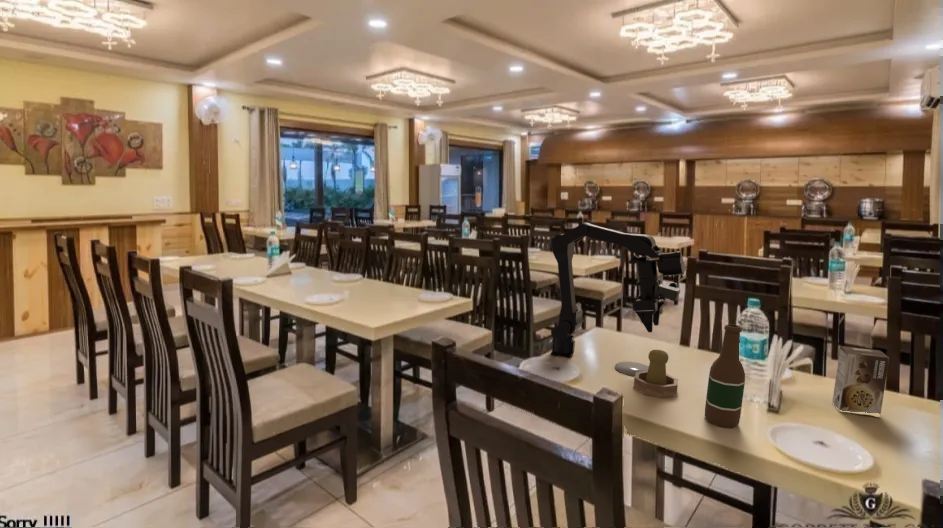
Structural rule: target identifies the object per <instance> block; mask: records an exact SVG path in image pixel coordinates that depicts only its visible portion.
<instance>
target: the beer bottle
mask: <svg viewBox="0 0 943 528" xmlns="http://www.w3.org/2000/svg"><path fill="white" fill-rule="evenodd" d="M723 329H724V334H723V340H722V345H721V350H720V353H719V356H718V357H717V358H716V359H715V360H714V361H713V362H712V364H711V365H710V369H709V372H708V373H709V374H708V380H707V387H706V388H707V389H706V397H705V405H704V406H705V407H704V418H705V419H706V420H707V422H708V423H709V424H711V423H712V425H715V426H716V427H718V426H719V428H727V429H734V428H735V427H737V426H739V424H740V420H741V413H742V407H743V400H744V391H745V390H744V389H745V386H746V385H745V383H746V373H745V369H744V366H742V364H741V360H740V361H739V343H740V340H741V339H740V338H741V333H742V327H741V326H739V325H738V324H731V323H730V324H729V323H728V324H725V325H724V327H723Z"/></svg>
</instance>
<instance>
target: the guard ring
mask: <svg viewBox="0 0 943 528" xmlns="http://www.w3.org/2000/svg"><path fill="white" fill-rule="evenodd" d="M647 372H648V371H643V372H636V374H635V376H634V378H633V387H632V388H633V389H635V390H637V391H638V392H640V393H641V394H643V395H647V396H650V397H651V396H652V397H658V398H671V397H675V396H676V397H677V395H678V385H679V379H678V378H676V377H674V376H672V375H670V374H667V373H666V385H657V384H651V383H647V382H645V380H646V376H647Z"/></svg>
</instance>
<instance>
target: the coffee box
mask: <svg viewBox="0 0 943 528" xmlns="http://www.w3.org/2000/svg"><path fill="white" fill-rule="evenodd" d="M889 363H890V357H889V356H888V355H886V354H885V353H884V352H883V351H881V350H879V349H871V348H861V347H860V348H859V347H851V346H842V345H841V346H840V348H839V354H838V361H837V366H836V367H837V368H836V374H835V381H834V387H833V388H834V389H833V394H832V400H831V401H832V402H833V403H834V405H835V406H836V407H837V408H838V409H839V410H842V411H850V412H865V413H866V412H867V413H879V414H881V413H882V408H883V407H882V406H883V401H884V393H885V387H886V381H887V377H888V376H887V374H888V369H889ZM832 402H831V403H832ZM834 405H833V406H834ZM835 406H834V407H835ZM836 407H835V408H836Z"/></svg>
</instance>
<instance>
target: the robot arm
mask: <svg viewBox="0 0 943 528" xmlns="http://www.w3.org/2000/svg"><path fill="white" fill-rule="evenodd" d="M586 237H588V238H592V239H595V240H599V241H601V242H607V243H610V244H613V245H617V246H621V247H623V248H624V249H626V250H627V251H630V252H631V253H634V254H633V255H632V257H631V259H630V260H629V261H628V264H631V265H632V264H635V266H636V275H637V281H636V282H635V283H636V286H638V291H639V295H638V296H637V299H636V300H635V301H634V302H633V303H632V310H633V312H634V313H635V314H636V315H637V317H638V318H639V319H640V322H641V323H642V324H643V325H644V328H645V330H646V331H647V332H648V333H653V329H654V328H653V326H659V323H660V318H661V317H660V316H661V310H662V309H661V308H662V307H663V305H664V304H665V303H666V302H667V300H669V301H671V302H677V301H678V299H679V296H680V294H681V288H680V287H679V286H678V283H677V282H673V281H671V282H670V283H669V284H664V283H662V280H661V279H660V278H659V277H658V276H659V274H662V276H663V277H669V276H670V277H671V276H684V275H685V273H686V271H685V269H686V267H685V261H684V258H683V255H682V251H681V250H679V251H674V252H664V251H663V250H662V249H660V247H658V245H657V243H656V240H655V238H654V236H652V235H651V234H643V233H627V232H626V233H625V232H622V231H620V230H619V231H618V230H616V229H615V230H614V229H611V228H606V227H603V226H599V225H596V224H592V223H590V222H582V223H579V224H578V225H577V226H575V227H574V228H572V229H570V230H568V231H566V232H565V233H561V234H560V233H559V234H556V235H554V236H553V237H552V239H551V240H550V245H551V251H552V254H553V256H554V258H555V260H556V262H557V272H558V278H559V279H558V282H559V290H560V291H559V292H560V302H561V303H560V304H561V307H560V310H559V314H558V325H557V326H556V327H554V328H553V329H551V330H550V334H551V337H552V343H551V344H552V346H551V348H552V349H551V352H550V355H551V356H557V357H564V358H569V359H570V358H571V357H572V355H574V353H575V348H576V340H574V338H575V337H574V336H575V333H576V331H578V330H579V329H580V328H581V327H582V324H583V322H584V321H585V319H584V317H583V308H580V309H579V308H578V306H577V303H576V295H575V294H576V293H575V282H574V273H573V259H574V258H573V257H574V255H575V246H576V243H578V242H580V241H582V240H583V239H584V238H586ZM658 273H659V274H658Z"/></svg>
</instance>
